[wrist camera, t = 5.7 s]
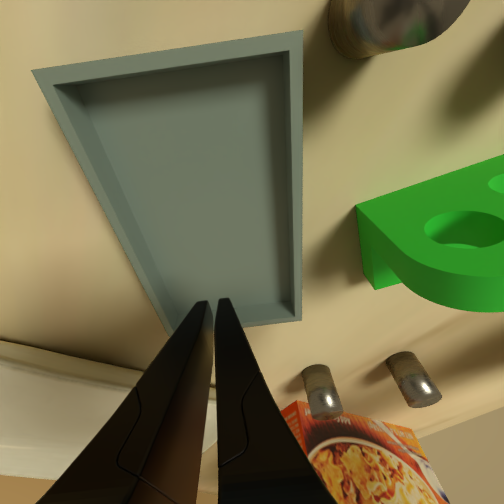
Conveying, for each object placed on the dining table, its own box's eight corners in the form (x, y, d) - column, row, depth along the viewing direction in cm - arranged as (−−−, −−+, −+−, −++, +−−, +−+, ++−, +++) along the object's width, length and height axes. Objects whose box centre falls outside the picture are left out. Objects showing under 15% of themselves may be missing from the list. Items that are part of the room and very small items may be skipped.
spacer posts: (829, -114, 9) (1197, -238, 5) (473, 360, 26) (507, 400, 23) (304, -33, 9) (343, -103, 6) (301, 380, 27) (311, 422, 23)
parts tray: (292, 39, 10) (303, 29, 8) (296, 300, 19) (301, 320, 18) (63, 72, 10) (30, 70, 9) (174, 315, 19) (168, 336, 18)
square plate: (250, 374, 26) (252, 414, 23) (171, 455, 39) (165, 488, 36) (-70, 299, 18) (-138, 346, 14) (-36, 435, 31) (-67, 475, 28)
